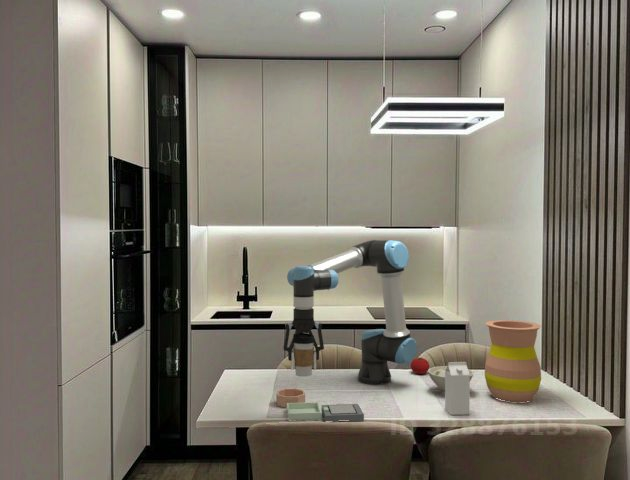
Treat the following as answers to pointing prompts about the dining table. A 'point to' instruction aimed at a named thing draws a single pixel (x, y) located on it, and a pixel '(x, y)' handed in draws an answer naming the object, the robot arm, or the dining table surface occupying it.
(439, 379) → the bowl
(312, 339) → the coffee cup
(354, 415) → the frame
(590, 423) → the dining table surface
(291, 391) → the bin
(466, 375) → the milk carton
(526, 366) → the vase
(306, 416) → the green square tray
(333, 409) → the plate
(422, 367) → the tomato
